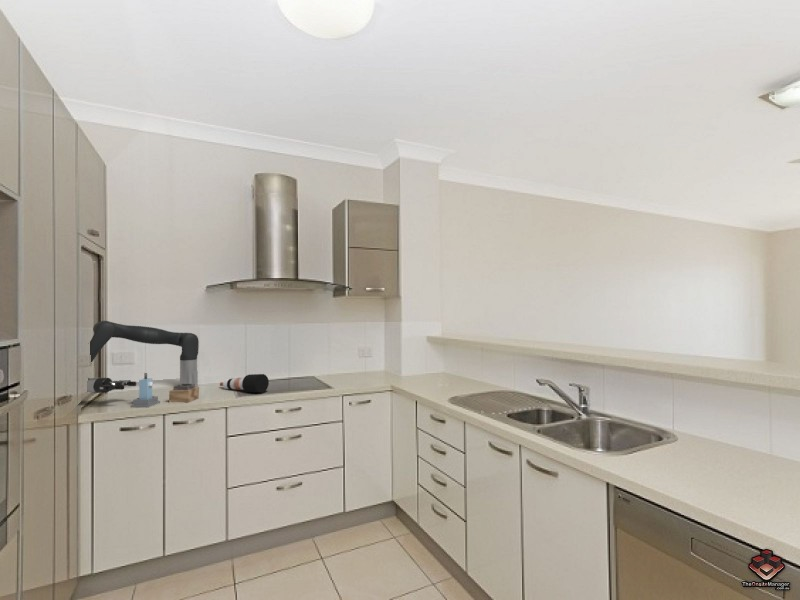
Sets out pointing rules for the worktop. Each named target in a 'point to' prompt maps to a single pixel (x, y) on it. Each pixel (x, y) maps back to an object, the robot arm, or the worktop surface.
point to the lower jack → (145, 402)
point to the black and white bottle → (247, 383)
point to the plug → (145, 387)
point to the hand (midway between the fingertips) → (129, 385)
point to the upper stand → (184, 393)
